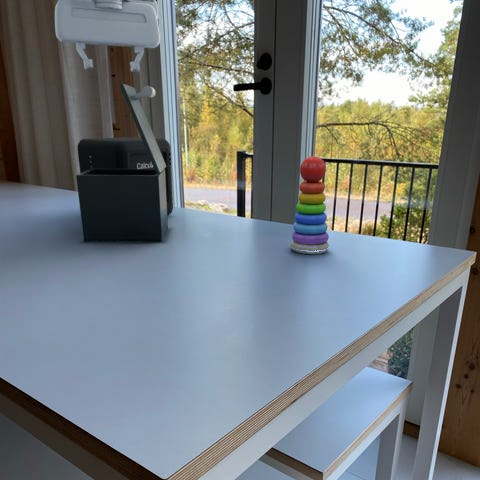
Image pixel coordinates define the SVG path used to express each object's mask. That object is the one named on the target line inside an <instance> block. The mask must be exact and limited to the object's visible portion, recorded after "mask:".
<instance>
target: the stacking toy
mask: <svg viewBox="0 0 480 480" xmlns="http://www.w3.org/2000/svg"><path fill="white" fill-rule="evenodd" d="M326 171H327V166H326V163H325V161H324V160H323V159H322V158H321V157H319V156H315V155H311V156H307V157H306V158H305V159H303V161H301V163H300V167H299V173H300V177H301V178H302V179H303V181H302V182H300V183H299V187H298V189H299V191H300V193H299V194H298V196H297V200H298V203H297V204H296V206H295V208H296V211H297V212H296V213H295V215H294V219H295V222H294V223H293V228H292V229H293V230H294V231H293V233H292V235H291V237H292V241H291V242H290V249H291V251H294V252H295V253H299V254H305V255H319V254H323V253H326V252H327V251H328V250H329V248H328V247H330V244H329V242H328V241H329V233H328V232H327V231H328V227H329V226H328V224H327V223H326V222H327V220H328V215H327V214H326V209H327V206H326V205H327V204H325V201H326V198H327V196H326V195H325V193H324V191H325V190H326V185H325V183H324V182H322V181H321V180H323V178H324V177H325V175H326ZM291 247H293V248H295V249H293V248H291ZM327 248H328V249H327ZM296 249H299V250H296ZM324 249H327V250H325V251H319V252H307V251H300V250H308V251H315V250H316V251H317V250H324Z"/></svg>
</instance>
